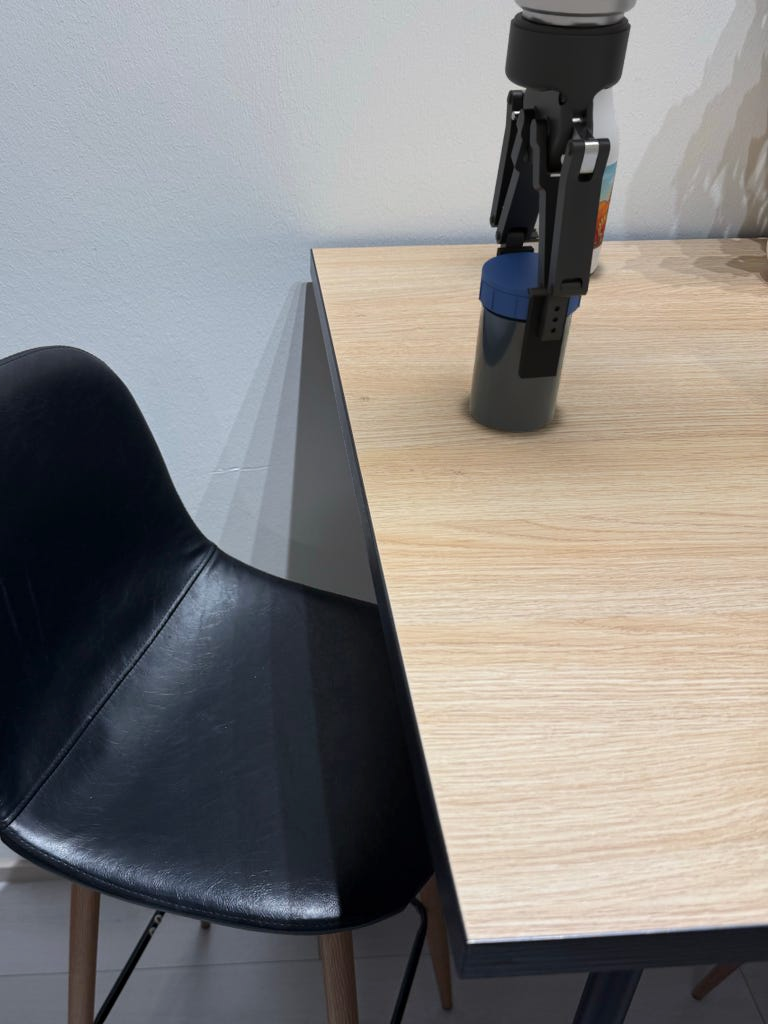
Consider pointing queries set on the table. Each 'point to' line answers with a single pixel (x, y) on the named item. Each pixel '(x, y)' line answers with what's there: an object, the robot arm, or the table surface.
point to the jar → (510, 378)
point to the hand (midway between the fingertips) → (520, 350)
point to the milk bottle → (605, 128)
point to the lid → (512, 284)
